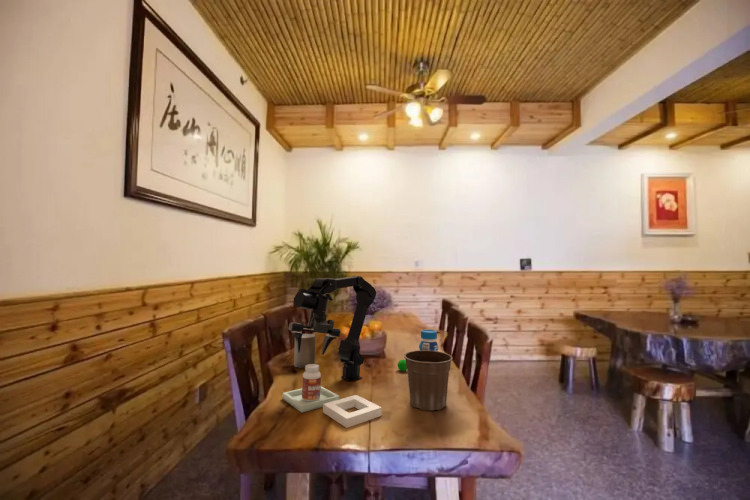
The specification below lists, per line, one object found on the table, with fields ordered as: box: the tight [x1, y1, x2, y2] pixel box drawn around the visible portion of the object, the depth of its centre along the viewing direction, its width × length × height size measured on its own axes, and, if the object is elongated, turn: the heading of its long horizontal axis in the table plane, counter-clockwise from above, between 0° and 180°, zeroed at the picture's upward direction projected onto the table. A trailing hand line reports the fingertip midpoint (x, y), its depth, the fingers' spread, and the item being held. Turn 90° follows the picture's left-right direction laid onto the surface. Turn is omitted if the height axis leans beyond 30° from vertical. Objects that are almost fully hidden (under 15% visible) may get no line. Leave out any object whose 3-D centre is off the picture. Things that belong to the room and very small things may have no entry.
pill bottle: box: [301, 363, 322, 402], centre depth 113 cm, size 6×6×11 cm
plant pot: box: [403, 349, 453, 412], centre depth 112 cm, size 16×16×16 cm
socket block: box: [322, 394, 382, 429], centre depth 103 cm, size 13×13×2 cm
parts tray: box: [282, 385, 340, 414], centre depth 113 cm, size 14×14×2 cm
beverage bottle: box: [418, 329, 439, 351], centre depth 138 cm, size 8×8×20 cm
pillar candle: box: [293, 332, 316, 369], centre depth 154 cm, size 10×10×15 cm
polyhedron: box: [397, 358, 407, 372], centre depth 149 cm, size 5×5×5 cm
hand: (310, 353), depth 121 cm, fingers open, 9 cm apart
